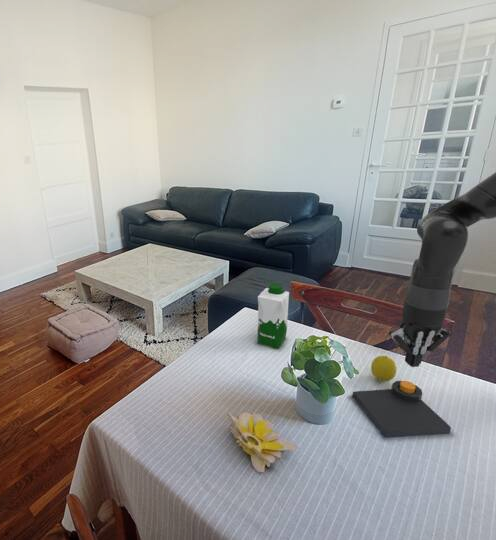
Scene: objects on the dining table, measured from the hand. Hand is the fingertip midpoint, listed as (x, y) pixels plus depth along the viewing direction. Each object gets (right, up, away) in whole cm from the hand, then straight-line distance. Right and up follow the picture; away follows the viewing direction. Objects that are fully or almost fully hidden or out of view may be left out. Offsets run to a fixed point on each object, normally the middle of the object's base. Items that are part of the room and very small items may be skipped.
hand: (412, 364), depth 82 cm
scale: (-4, -12, 0) cm, 13 cm away
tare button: (+1, -7, +3) cm, 8 cm away
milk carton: (-21, -2, +34) cm, 40 cm away
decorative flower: (-40, -18, -5) cm, 44 cm away
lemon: (0, -8, +11) cm, 13 cm away
